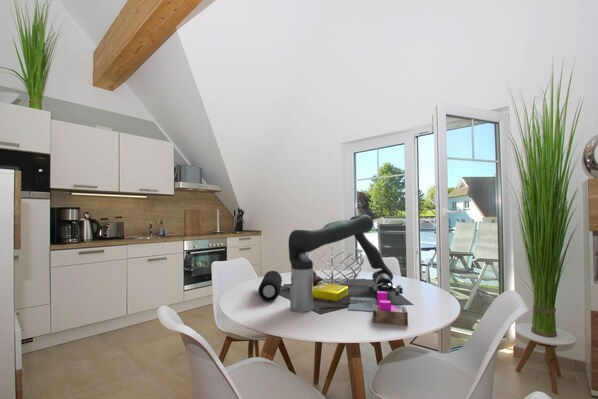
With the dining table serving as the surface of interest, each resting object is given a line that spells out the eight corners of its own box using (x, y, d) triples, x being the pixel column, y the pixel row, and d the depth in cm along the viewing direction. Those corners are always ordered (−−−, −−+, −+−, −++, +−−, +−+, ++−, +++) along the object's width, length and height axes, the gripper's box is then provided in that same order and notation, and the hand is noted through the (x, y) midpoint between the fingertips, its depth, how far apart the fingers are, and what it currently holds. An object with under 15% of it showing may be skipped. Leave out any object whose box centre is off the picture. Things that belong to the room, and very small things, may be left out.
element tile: (337, 303, 132) (337, 292, 132) (308, 298, 140) (308, 288, 140) (349, 294, 145) (349, 285, 145) (322, 290, 153) (322, 281, 153)
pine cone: (289, 289, 154) (289, 270, 154) (292, 284, 164) (292, 267, 164) (323, 290, 152) (322, 271, 152) (323, 285, 162) (323, 267, 162)
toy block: (398, 324, 107) (398, 303, 107) (380, 323, 108) (380, 302, 108) (393, 310, 121) (392, 292, 122) (377, 309, 122) (377, 291, 123)
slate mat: (348, 310, 121) (348, 309, 121) (350, 297, 139) (350, 296, 139) (377, 312, 119) (377, 311, 119) (376, 299, 136) (376, 298, 136)
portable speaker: (263, 288, 157) (263, 269, 158) (282, 288, 158) (282, 269, 158) (257, 303, 132) (257, 281, 132) (279, 303, 132) (279, 280, 132)
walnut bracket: (373, 322, 107) (373, 310, 107) (373, 315, 115) (372, 304, 115) (407, 325, 105) (407, 312, 105) (405, 317, 112) (405, 306, 112)
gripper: (369, 275, 143) (369, 283, 127) (399, 276, 139) (403, 285, 124) (369, 290, 142) (369, 300, 126) (399, 292, 139) (404, 302, 123)
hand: (386, 293), depth 125 cm, fingers open, 8 cm apart
